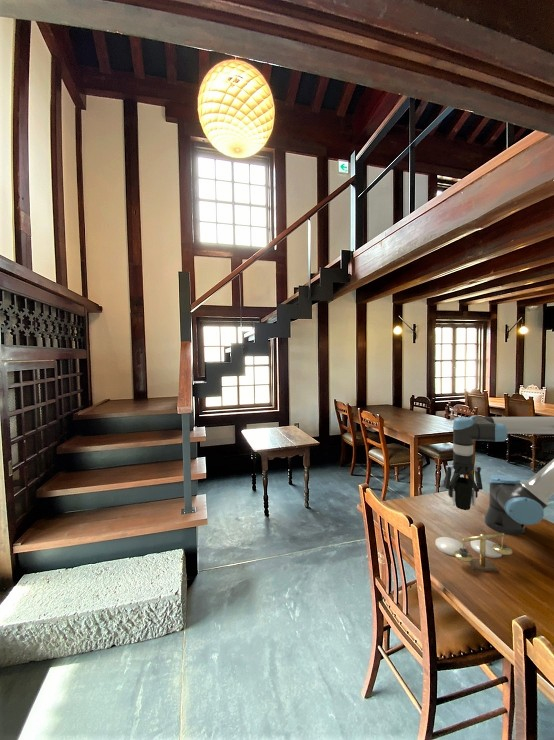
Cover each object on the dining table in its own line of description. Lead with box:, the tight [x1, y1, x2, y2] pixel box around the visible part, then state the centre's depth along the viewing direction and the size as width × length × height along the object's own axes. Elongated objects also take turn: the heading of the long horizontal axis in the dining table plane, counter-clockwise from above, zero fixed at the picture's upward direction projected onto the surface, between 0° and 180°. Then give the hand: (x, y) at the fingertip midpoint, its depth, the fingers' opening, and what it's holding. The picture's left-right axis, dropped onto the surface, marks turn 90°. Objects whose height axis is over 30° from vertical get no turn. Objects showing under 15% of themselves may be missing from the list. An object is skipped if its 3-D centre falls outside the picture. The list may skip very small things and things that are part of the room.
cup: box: [454, 476, 473, 511], centre depth 137 cm, size 8×8×12 cm
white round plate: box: [470, 539, 503, 559], centre depth 129 cm, size 11×11×1 cm
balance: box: [454, 532, 513, 573], centre depth 119 cm, size 20×6×14 cm, turn 83°
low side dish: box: [435, 536, 467, 557], centre depth 131 cm, size 11×11×1 cm
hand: (462, 504), depth 138 cm, fingers closed on cup, 8 cm apart
